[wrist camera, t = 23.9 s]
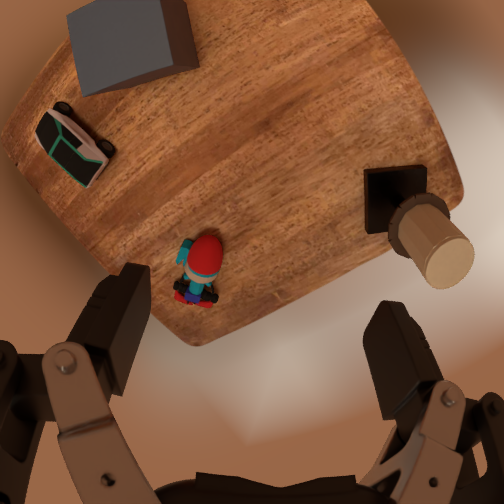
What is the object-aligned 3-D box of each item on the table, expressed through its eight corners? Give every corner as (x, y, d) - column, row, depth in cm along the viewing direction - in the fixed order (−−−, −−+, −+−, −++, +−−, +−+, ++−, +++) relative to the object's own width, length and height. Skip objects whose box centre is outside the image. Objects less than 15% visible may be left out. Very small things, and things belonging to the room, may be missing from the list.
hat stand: (363, 169, 38) (416, 227, 24) (422, 164, 37) (490, 216, 23) (364, 229, 42) (405, 304, 29) (419, 221, 41) (473, 288, 28)
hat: (389, 196, 31) (420, 233, 24) (451, 190, 30) (490, 222, 23) (386, 261, 35) (409, 305, 28) (443, 251, 34) (473, 290, 27)
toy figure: (216, 301, 52) (240, 235, 42) (210, 324, 48) (233, 259, 38) (174, 286, 51) (187, 217, 42) (164, 308, 48) (175, 239, 38)
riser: (117, 25, 28) (66, 15, 17) (186, 2, 27) (155, -25, 16) (130, 87, 32) (82, 97, 22) (199, 67, 31) (173, 64, 21)
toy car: (98, 182, 39) (80, 197, 35) (44, 131, 35) (22, 141, 30) (121, 151, 37) (103, 163, 32) (63, 99, 32) (41, 105, 28)
